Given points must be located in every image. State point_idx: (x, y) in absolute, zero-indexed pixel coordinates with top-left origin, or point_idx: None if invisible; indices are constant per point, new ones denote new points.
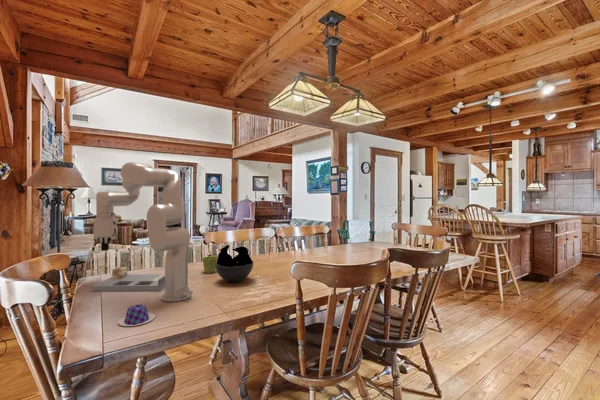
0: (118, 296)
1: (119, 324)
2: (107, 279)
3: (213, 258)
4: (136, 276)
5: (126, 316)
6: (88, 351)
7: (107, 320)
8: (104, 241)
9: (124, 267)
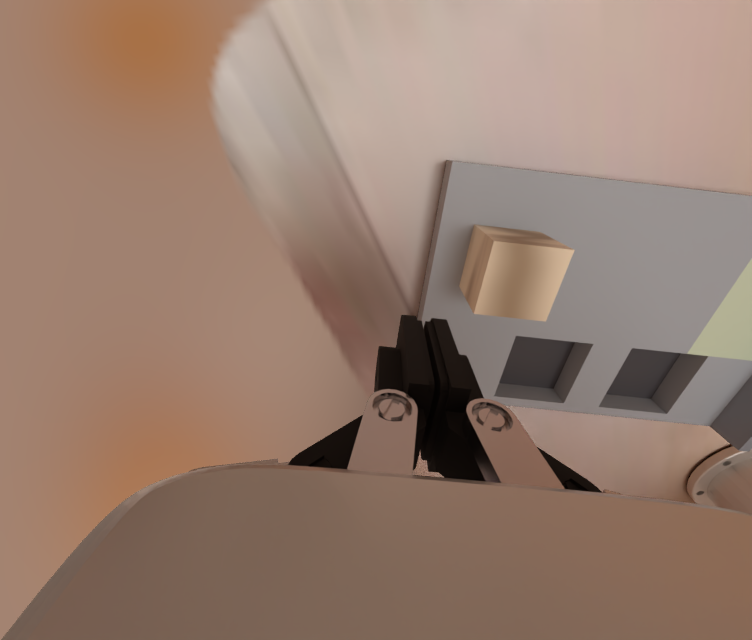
0: (534, 442)
1: None
2: (434, 293)
3: None
4: (602, 243)
5: None
6: None
7: None
8: (417, 445)
9: (553, 264)
